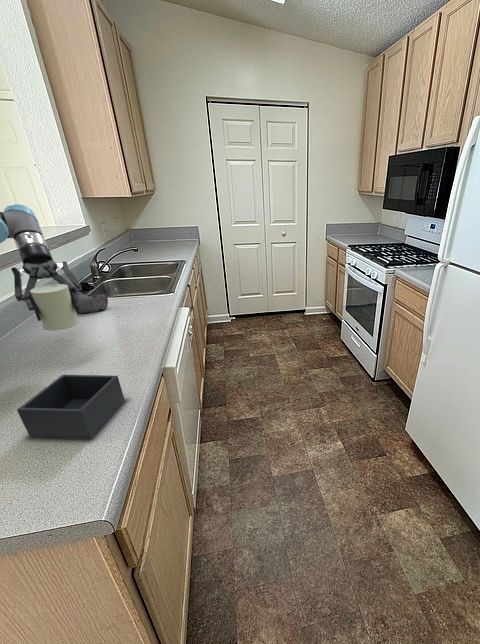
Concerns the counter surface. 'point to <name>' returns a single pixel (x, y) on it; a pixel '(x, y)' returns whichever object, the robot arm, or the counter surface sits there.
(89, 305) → the perforated stone tool
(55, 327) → the can
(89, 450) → the counter surface
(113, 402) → the open box
